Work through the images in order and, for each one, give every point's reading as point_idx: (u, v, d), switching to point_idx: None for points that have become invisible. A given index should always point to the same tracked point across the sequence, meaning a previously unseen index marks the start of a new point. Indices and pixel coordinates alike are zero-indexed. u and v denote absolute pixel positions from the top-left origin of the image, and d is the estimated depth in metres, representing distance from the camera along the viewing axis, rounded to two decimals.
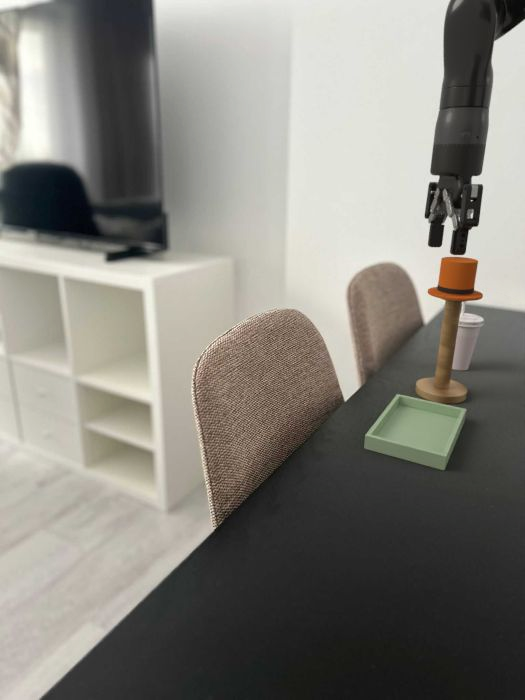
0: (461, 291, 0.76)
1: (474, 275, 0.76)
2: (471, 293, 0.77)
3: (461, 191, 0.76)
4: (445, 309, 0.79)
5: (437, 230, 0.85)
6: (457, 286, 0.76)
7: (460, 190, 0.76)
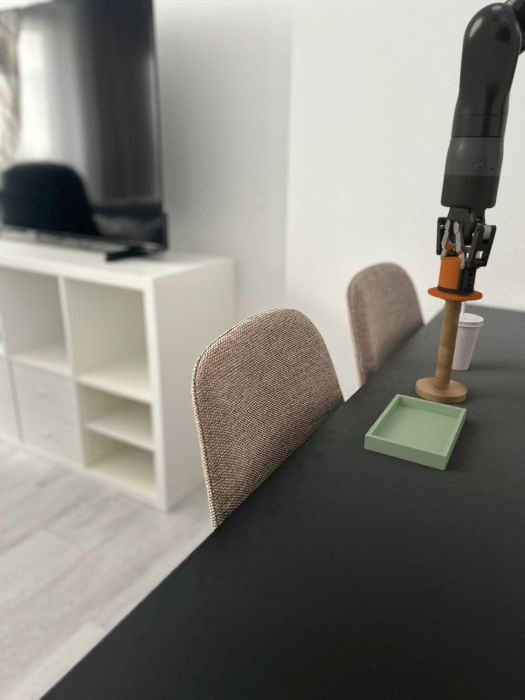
0: None
1: None
2: None
3: (474, 225, 0.71)
4: (445, 309, 0.79)
5: None
6: None
7: (473, 224, 0.71)
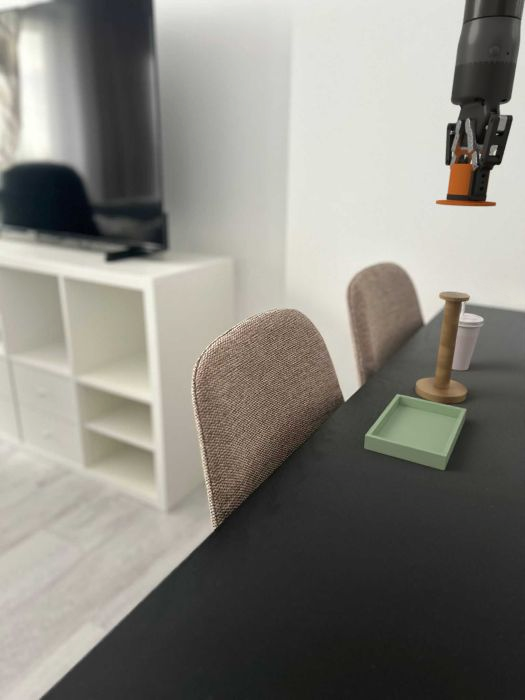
0: None
1: None
2: (483, 200, 0.71)
3: (488, 118, 0.65)
4: (445, 309, 0.79)
5: None
6: (468, 191, 0.70)
7: (486, 117, 0.65)
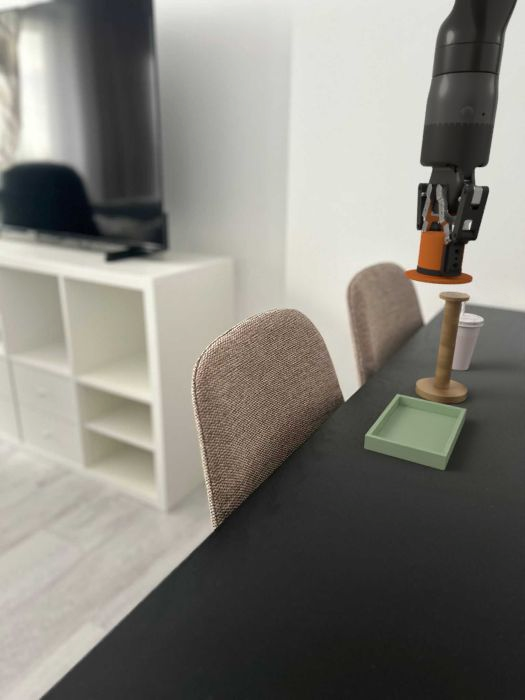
0: None
1: None
2: None
3: (461, 187, 0.56)
4: (445, 309, 0.79)
5: None
6: (440, 266, 0.61)
7: (459, 186, 0.56)
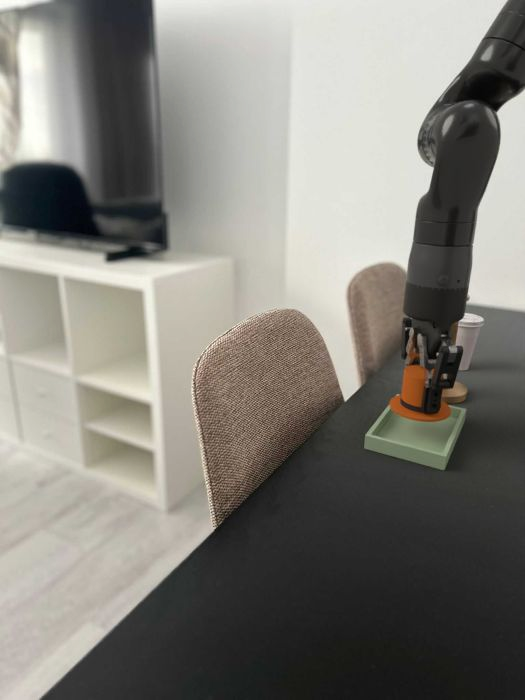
0: None
1: None
2: None
3: (439, 342, 0.62)
4: None
5: None
6: (421, 403, 0.67)
7: (437, 341, 0.62)
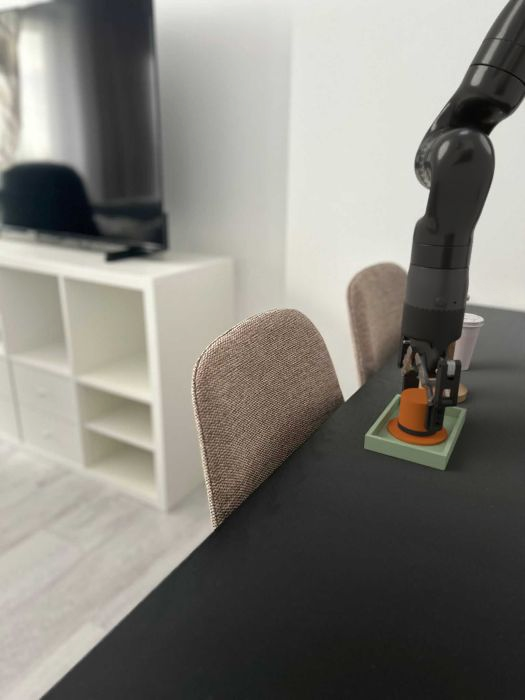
0: (422, 433, 0.68)
1: None
2: (434, 433, 0.69)
3: (436, 362, 0.63)
4: None
5: (411, 385, 0.73)
6: (418, 427, 0.68)
7: (435, 361, 0.63)
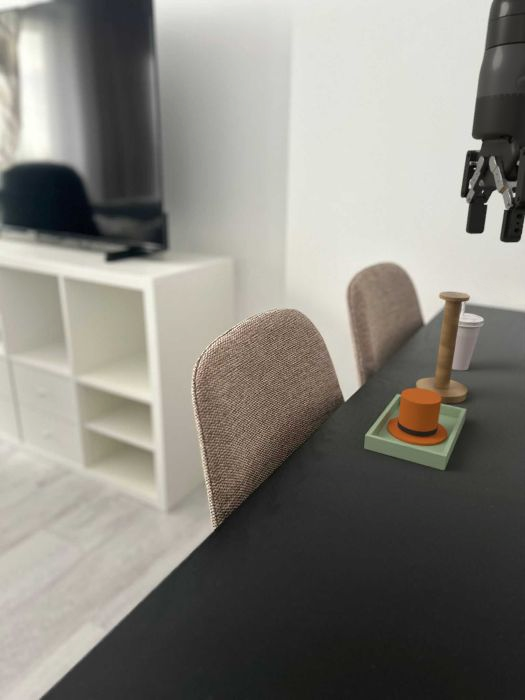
0: (422, 433, 0.68)
1: (437, 415, 0.68)
2: (434, 433, 0.69)
3: (516, 157, 0.57)
4: (445, 309, 0.79)
5: (478, 212, 0.67)
6: (418, 427, 0.68)
7: (515, 156, 0.57)
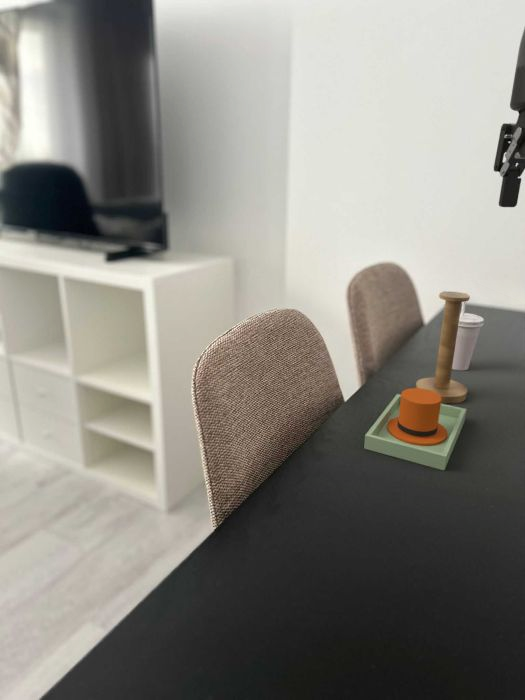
0: (422, 433, 0.68)
1: (437, 415, 0.68)
2: (434, 433, 0.69)
3: None
4: (445, 309, 0.79)
5: (511, 185, 0.67)
6: (418, 427, 0.68)
7: None
